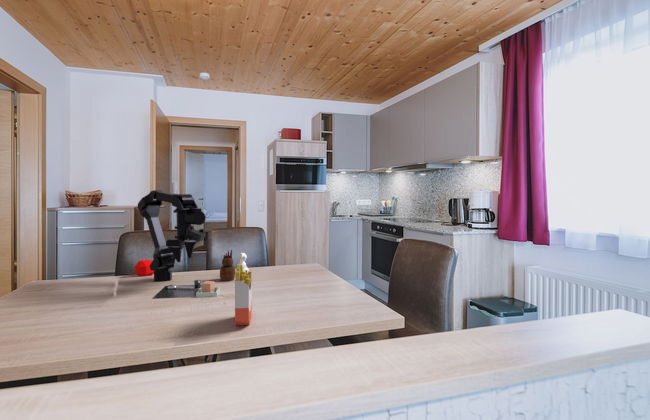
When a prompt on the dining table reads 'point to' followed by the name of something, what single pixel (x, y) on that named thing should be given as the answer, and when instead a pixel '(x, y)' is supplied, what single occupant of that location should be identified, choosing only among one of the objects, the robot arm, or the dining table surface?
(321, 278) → the dining table surface
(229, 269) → the wooden figurine
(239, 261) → the sitting furry creature
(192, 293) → the base plate
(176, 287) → the crank
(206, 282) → the block
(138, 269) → the red piece
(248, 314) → the french fries container
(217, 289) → the tray
